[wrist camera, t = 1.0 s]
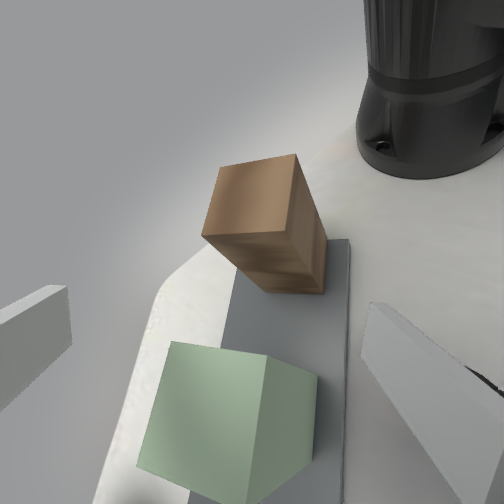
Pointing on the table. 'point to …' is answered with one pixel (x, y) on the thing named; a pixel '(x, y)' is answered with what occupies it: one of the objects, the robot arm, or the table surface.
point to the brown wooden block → (269, 225)
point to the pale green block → (229, 423)
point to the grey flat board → (301, 365)
